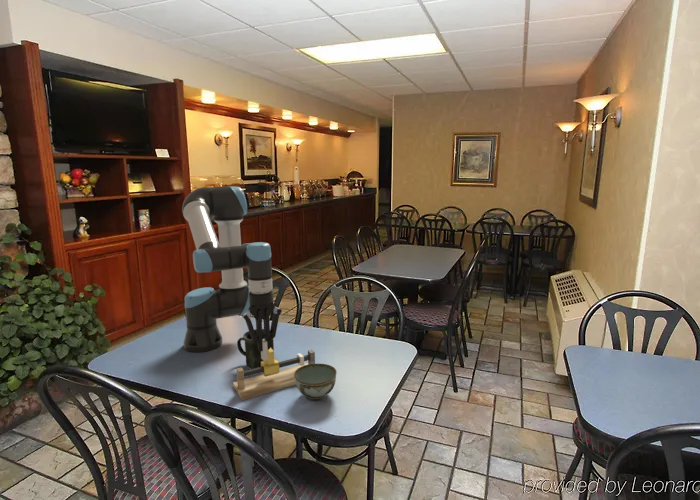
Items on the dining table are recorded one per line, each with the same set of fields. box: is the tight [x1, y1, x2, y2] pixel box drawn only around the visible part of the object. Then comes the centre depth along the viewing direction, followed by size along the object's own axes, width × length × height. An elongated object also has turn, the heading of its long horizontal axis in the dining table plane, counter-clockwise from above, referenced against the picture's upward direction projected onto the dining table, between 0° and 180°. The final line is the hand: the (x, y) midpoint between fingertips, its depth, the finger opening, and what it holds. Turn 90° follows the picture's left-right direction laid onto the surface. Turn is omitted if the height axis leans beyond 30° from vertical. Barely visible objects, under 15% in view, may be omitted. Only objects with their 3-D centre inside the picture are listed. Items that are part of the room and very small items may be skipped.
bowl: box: [294, 363, 338, 402], centre depth 134 cm, size 14×13×8 cm
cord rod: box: [244, 354, 310, 378], centre depth 143 cm, size 1×24×1 cm, turn 121°
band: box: [296, 352, 305, 366], centre depth 147 cm, size 3×1×3 cm, turn 31°
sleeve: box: [261, 348, 280, 377], centre depth 141 cm, size 4×5×8 cm
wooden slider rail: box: [232, 349, 316, 401], centre depth 143 cm, size 10×28×8 cm, turn 121°
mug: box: [236, 328, 275, 370], centre depth 156 cm, size 11×15×12 cm
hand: (264, 359), depth 140 cm, fingers closed
